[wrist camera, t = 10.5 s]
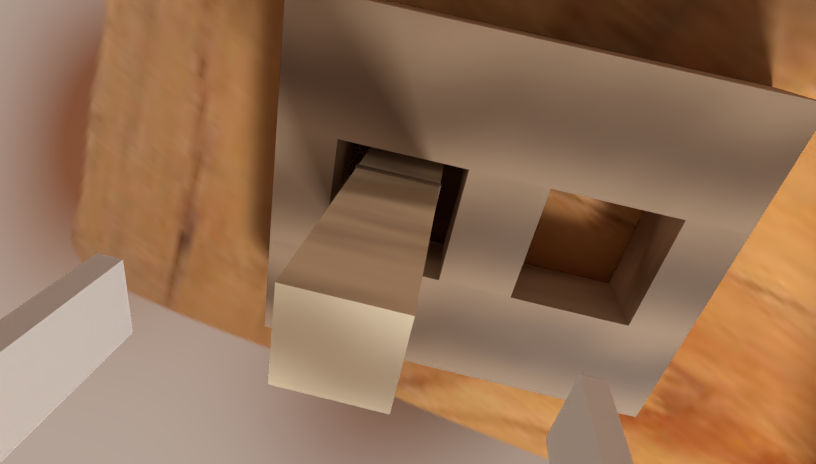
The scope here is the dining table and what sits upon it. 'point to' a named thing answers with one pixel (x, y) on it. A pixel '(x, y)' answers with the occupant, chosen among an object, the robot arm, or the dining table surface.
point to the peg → (357, 285)
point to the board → (532, 181)
